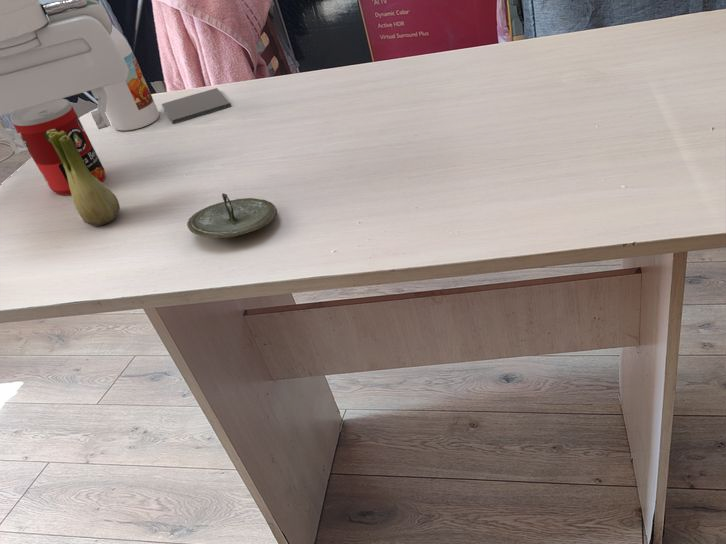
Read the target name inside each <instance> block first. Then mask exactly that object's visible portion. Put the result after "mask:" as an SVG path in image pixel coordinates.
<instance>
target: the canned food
mask: <svg viewBox="0 0 726 544" xmlns="http://www.w3.org/2000/svg"><path fill="white" fill-rule="evenodd" d="M9 118H10V120H11V124H12V125H13V126H14V129H15V130H16V133H17V134H18V133H21V134H22V136H23V137H24V141H26V143H27V144H28V146H29V151H28V154H29V155H30V157H31V158H32V160H33V162H34V163H35V165H36V167H37V168H38V170H39V172H40V174H41V176H42V177H43V179H44V181H45V182H46V184H47V186H48V187H49V189H50V190H51V191H52V192H53V193H55V194H56V195H59V196H72V194H71V191H70V187H69V183H68V179H67V175H66V171H65V169H64V167H63V164H62V162H61V160H60V158H59V156H58V154H57V152H56V150H55V148H54V147H53V145H52V143H51V141H50V139H49V138H48V136H47V134H46V133H47V131H48V130H51V129H56V130H57V132H60V131H65V132H66V134H67V136H69V137H70V138H71V139H72V141H73V143H74V145H75V146H76V148H77V150H78V152H79V154H80V156H81V158H82V159H83V161H84V163H85V165H86V166H87V168H88V170H89V171H90V173H91V174H92V175H93V176H94V177H96V178H97V179H98V180H99V181H101V182H102V183H104V180H105V179H106V172H105V171H106V170H105V168H104V166H103V164H102V162H101V160H100V158H99V155H98V154H97V152H96V150H95V148H94V146H93V144H92V141H91V140H90V138H89V136H88V134H87V132H86V130H85V128H84V126H83V124H82V122H81V120H80V118H79V116H78V115H77V112H76V111H75V109H74V107H73V105H72V103H71V102H70V100H68V99H66V98H62V99H59V100H55V101H51V102H48V103H44V104H41V105H37V106H34V107H30V108H27V109H23V110H20V111H16V112H13V113H11V115H10V116H9Z"/></svg>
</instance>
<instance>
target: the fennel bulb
mask: <svg viewBox="0 0 726 544" xmlns="http://www.w3.org/2000/svg"><path fill="white" fill-rule="evenodd" d="M46 134H47V136H48V138H49V139H50V141H51V143H52V145H53V147H54V148H55V150H56V152H57V154H58V156H59V158H60V160H61V162H62V164H63V167H64V169H65V171H66V175H67V179H68V183H69V187H70V191H71V194H72V195H71V198H72V199H73V200H72V201H73V203H74V206H75V209H76V211H77V213H78V214H79V216H80V218H81V219H82V220H83V222H84V223H85V224H87V225H89V226H93V227H98V226H103V225H106V224H109V223H111V222H112V221H113V220H114V219H115V218H116V217H117V216H118V214H119V213H120V208H121V206H120V202H119V200H118V198H117V196H116V195H115V193H114V192H113V191H112V190H111V189H110V188H109V187H108V186H107V185H106V184H104V182H101V181H99V180H98V179H97V178H96V177H94V176H93V175H92V174H91V173H90V171H89V170H88V168H87V166H86V165H85V163H84V161H83V159H82V158H81V156H80V154H79V152H78V150H77V148H76V146H75V145H74V143H73V141H72V139H71V138H70V137H69V136H67V134H66V132H65V131H60V132H57V130H56V129H51V130H48V131H47V133H46Z"/></svg>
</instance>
